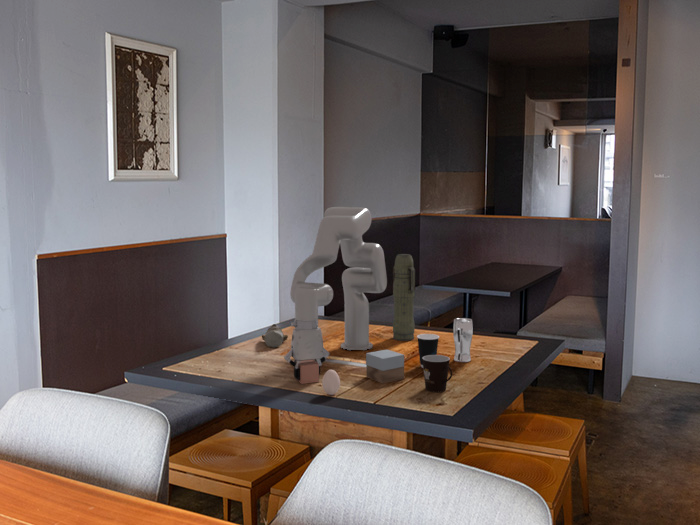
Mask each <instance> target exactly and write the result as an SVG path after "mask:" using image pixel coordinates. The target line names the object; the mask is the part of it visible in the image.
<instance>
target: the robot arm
mask: <svg viewBox="0 0 700 525" xmlns="http://www.w3.org/2000/svg"><path fill="white" fill-rule="evenodd" d="M323 216H324V217H323V218H322V219H321V220H320V222H319V225H318V229H317V234H316V238H315V241H314V246H313V250H312V253H311V254H310V255H309V256H308V257H307V258H305V260H303V261H302V262H301V263H300V265H298V267H297V268H296V270H295V272H294V275H293V279H292V282H291V286H290V300H291V301H292V302H293V303H294V320H293V322H290V326H291V327H294V328H293V330H292V335H291V344H290V350H289V351H288V352H287V353H286V354H285V356H284V358H283V359H284V360H285V361H287V362H288V364H289V365H291V366H292V367H293V376H294V379H295V380H296V379H297V380H296V381H297V382H299V380H300V369H299V365H300V362H301V361H304V360H314V361H316V362H317V363H318V364H319V376H320V375H321V367H322V365H323V363H324V362H325V361H326V359H327V358H328V357H329V356H330V352H329V351H328V350H327V349H326V348H325V346H324V338H323V333H322V328H321V327H319V307H326V306H328V305H329V304H330V303H331V302H332V300H333V298H334V290H333V288H332V286H331V285H329V284H328V283H323V282H321V283H320V282H307V278H308V277H309V276H310V275H312V273H314V272H315V271H318V270H320V269H322V268H325V267H328V266H329V265H332V264H333V263H335V262H336V261H337V260H338V259H337V258H338V254H339V249H340V250H341V257H342V258H341V259H342V261H343V264H344V265H345V266H347V267H349V268H347V269H346V268H345V270H343V272H342V274H341V282H342V284H341V285H342V287H343V288H342V290H343V299H344V342H342V343H340V348H341V349H342V348H343V349H342V350H345V349H347V351H351V350H363V351H368V350H367V349H369V350H371V349H373V347H374V346H373V343H372V342H370V305H369V304H370V303H369V300H368V298H367V296H366V295H365V293H370V294H381V293H383V292H385V290H386V289H387V285H388V277H387V276H388V275H387V270H386V269H387V267H386V261H385V260H386V259H385V253H384V252H385V251H384V249H383V248H382V246H381V245H380V244H379V243H375V242H364V240H363V235H364V234H365V233H366V232H367V231H368V230H369V229H370V227H371V224H372V221H373V220H372V214H371V211H370V210H369V209H368V208H366V207H361V206H360V207H352V206H350V207H349V206H348V207H347V206H332V207H328V208H326V210H325V211H324V214H323ZM292 358H294V360H293V359H292Z"/></svg>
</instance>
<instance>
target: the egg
mask: <svg viewBox="0 0 700 525" xmlns="http://www.w3.org/2000/svg"><path fill="white" fill-rule="evenodd" d="M321 382H322V383H321V385H322V388H323V391H324V393H326V395H329V396H334V395H336V394H337V393H338V391H339V389H340V387H341V379H340V376H339V374H338V373H337V372H336V370H335V369H328V370H327V371H326V372H324V375H323V378H322V380H321Z"/></svg>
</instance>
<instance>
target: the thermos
mask: <svg viewBox="0 0 700 525" xmlns="http://www.w3.org/2000/svg"><path fill="white" fill-rule="evenodd" d="M392 276H393V278H392V281H393V282H392V283H393V284H392V297H393V302H394V303H393V309H394V310H393V318H394V319H393V321H392V336H393V337H392V339H393V340H395V341H400V342H401V341H403V342H404V341H413V340H414V339H415V337H414V336H415V324H416V323H415V320H414V298H415V288H416V269H415V267H414V259H413V256H412V255H411V254H410V253H398V254H396V256H395V259H394V265H393V267H392Z"/></svg>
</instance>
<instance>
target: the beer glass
mask: <svg viewBox="0 0 700 525" xmlns="http://www.w3.org/2000/svg"><path fill="white" fill-rule="evenodd" d="M473 326H474V325H473V319H472V318H467V317H460V318H459V317H457V318H454V319H453V328H452V329H453V330H452V332H453V335H452V336H453V340H454V347H455V348H454V350H455V351H454V356H453V357H454V358H453V360H454V361H455V362H458V363H469V362H471V361H472V358H471V345H472V340H473V335H474V334H473V330H474V329H473Z"/></svg>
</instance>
